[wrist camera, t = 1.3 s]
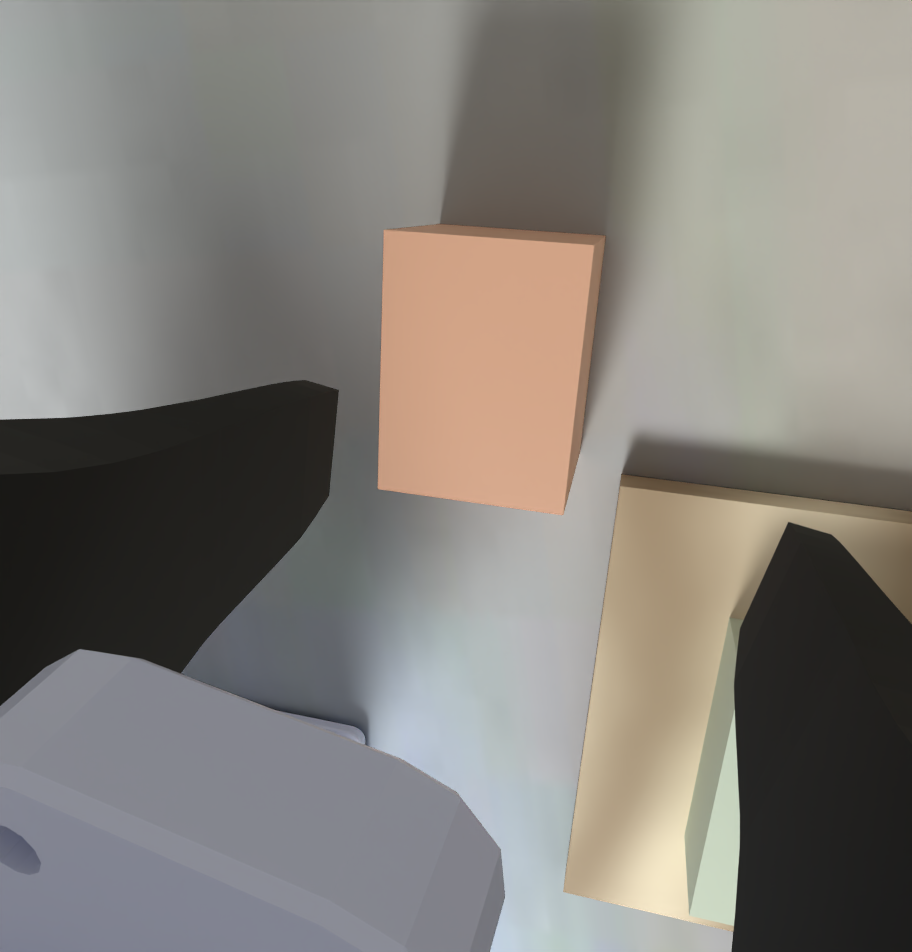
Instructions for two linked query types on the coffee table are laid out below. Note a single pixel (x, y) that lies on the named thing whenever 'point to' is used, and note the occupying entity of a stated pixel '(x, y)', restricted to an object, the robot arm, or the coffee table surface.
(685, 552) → the baseplate
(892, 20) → the coffee table surface
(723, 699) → the sage brick
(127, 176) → the coffee table surface
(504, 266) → the terracotta brick
